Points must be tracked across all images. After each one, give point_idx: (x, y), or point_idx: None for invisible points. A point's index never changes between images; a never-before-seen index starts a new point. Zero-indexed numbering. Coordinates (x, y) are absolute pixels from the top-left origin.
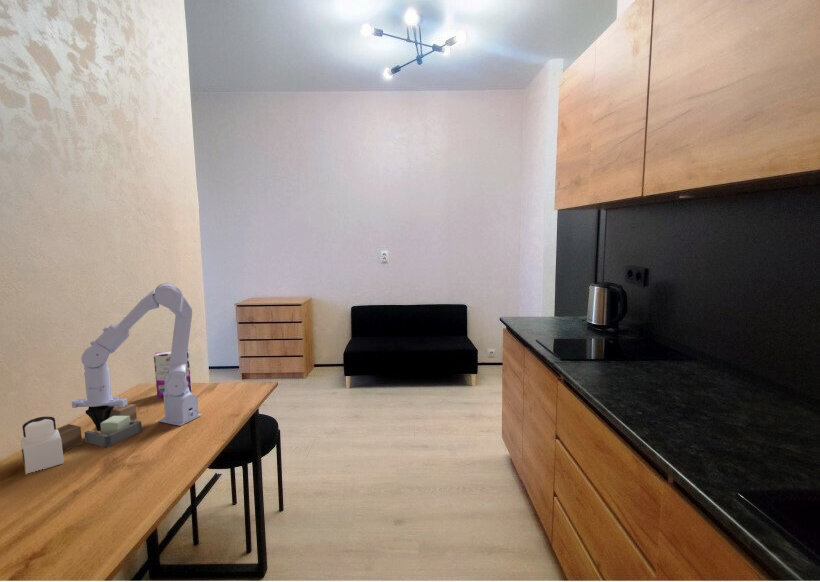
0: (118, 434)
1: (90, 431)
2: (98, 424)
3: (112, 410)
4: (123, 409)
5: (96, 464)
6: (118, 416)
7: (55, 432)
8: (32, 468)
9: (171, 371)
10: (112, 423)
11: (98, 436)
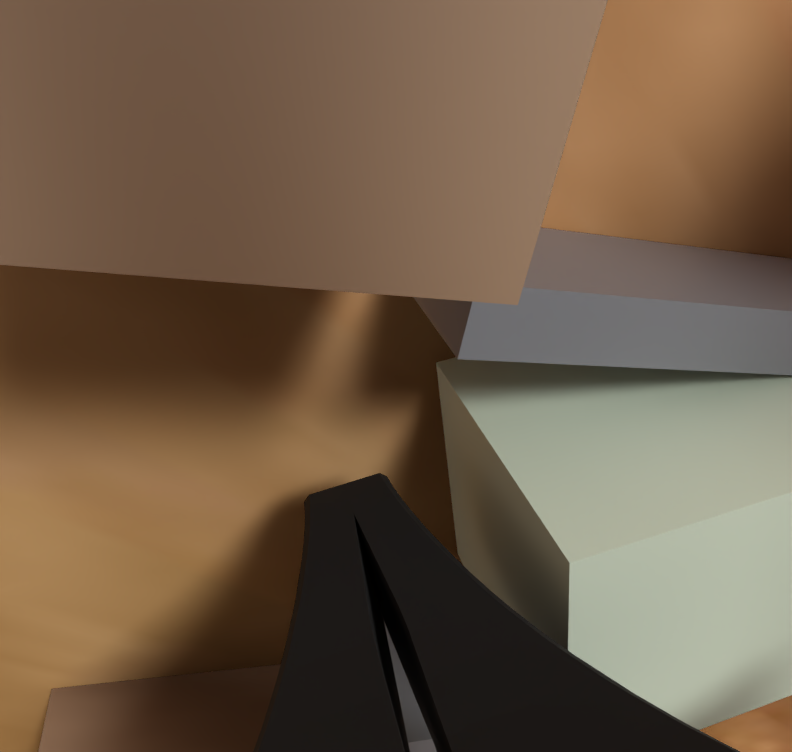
0: None
1: (417, 747)
2: (414, 691)
3: (100, 255)
4: (552, 172)
5: (722, 737)
6: (711, 546)
7: None
8: None
9: None
10: (754, 702)
11: None
